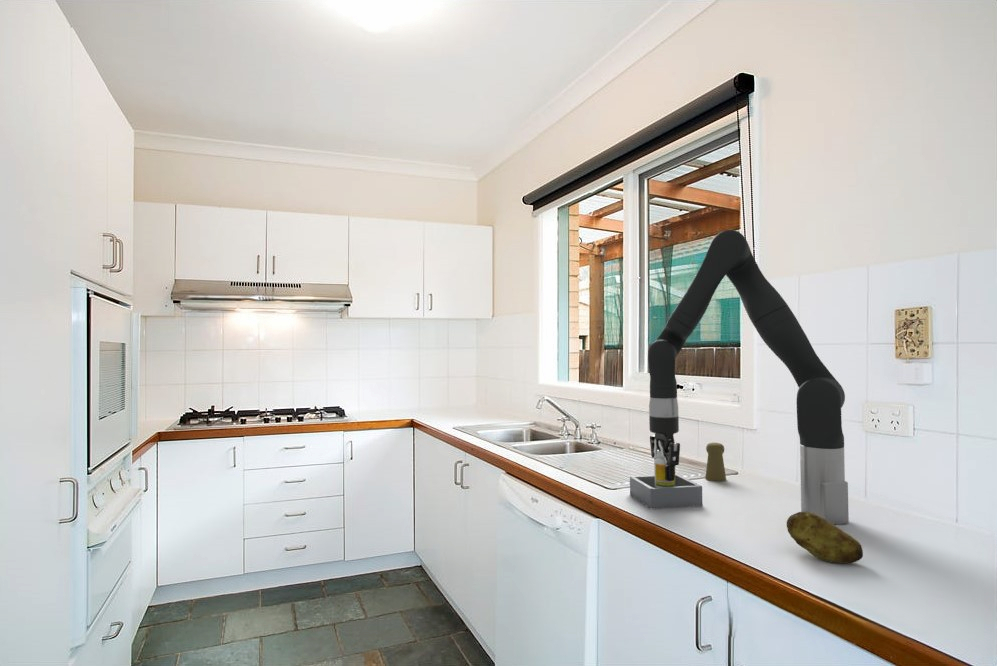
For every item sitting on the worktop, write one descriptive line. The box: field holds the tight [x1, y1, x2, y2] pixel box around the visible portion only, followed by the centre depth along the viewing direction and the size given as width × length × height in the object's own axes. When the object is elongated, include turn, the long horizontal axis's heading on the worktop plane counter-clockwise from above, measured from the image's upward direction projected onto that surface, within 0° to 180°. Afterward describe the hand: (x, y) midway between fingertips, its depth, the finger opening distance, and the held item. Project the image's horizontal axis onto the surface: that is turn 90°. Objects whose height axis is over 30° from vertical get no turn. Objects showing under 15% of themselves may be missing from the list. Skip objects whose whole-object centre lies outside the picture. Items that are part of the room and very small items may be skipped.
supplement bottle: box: [653, 450, 676, 488], centre depth 159 cm, size 5×5×10 cm
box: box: [629, 473, 703, 509], centre depth 159 cm, size 14×14×5 cm
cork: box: [704, 442, 727, 483], centre depth 181 cm, size 6×6×11 cm
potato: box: [786, 511, 864, 564], centre depth 116 cm, size 8×13×8 cm, turn 23°
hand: (664, 477), depth 159 cm, fingers closed on supplement bottle, 5 cm apart
